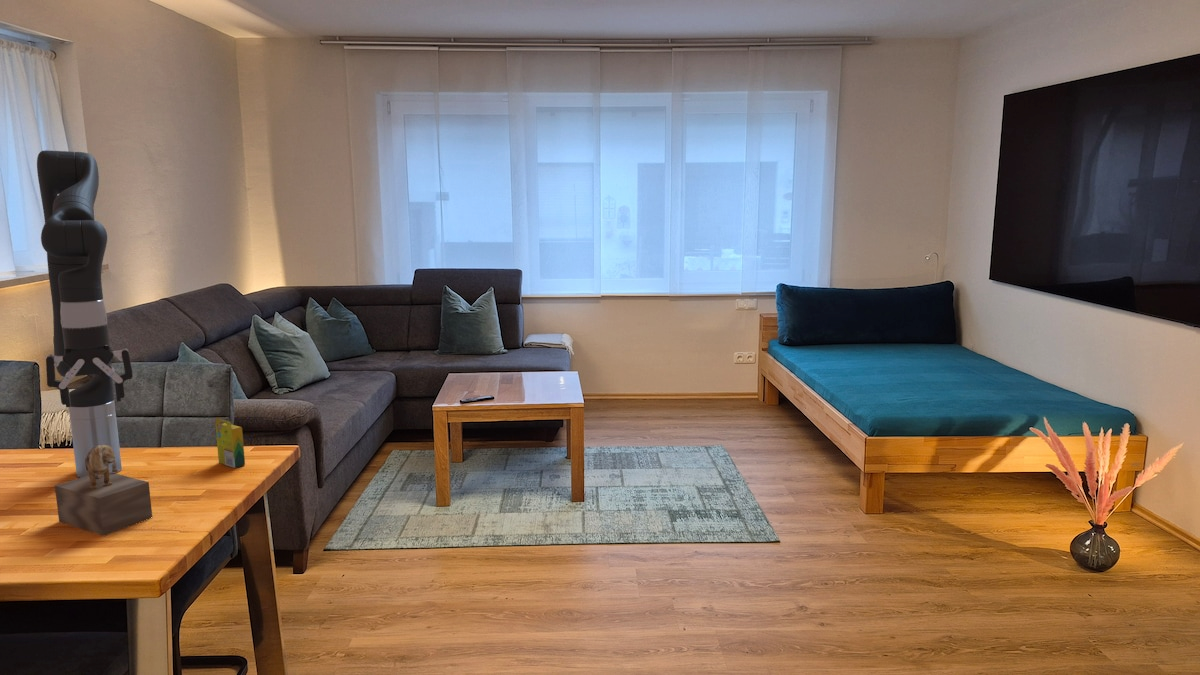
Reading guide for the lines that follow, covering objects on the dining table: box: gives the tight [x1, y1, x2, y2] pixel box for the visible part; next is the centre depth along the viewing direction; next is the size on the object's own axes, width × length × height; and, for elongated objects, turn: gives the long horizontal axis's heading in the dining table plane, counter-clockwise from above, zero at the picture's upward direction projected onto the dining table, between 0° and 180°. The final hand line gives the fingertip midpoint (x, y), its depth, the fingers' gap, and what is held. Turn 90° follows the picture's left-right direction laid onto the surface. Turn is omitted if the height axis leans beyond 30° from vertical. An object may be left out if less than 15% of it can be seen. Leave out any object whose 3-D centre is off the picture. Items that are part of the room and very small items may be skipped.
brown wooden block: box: [54, 472, 153, 537], centre depth 162 cm, size 15×10×8 cm, turn 63°
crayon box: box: [214, 417, 246, 469], centre depth 195 cm, size 7×3×12 cm, turn 54°
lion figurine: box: [85, 445, 119, 489], centre depth 162 cm, size 15×5×9 cm, turn 32°
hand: (93, 403), depth 158 cm, fingers open, 8 cm apart
